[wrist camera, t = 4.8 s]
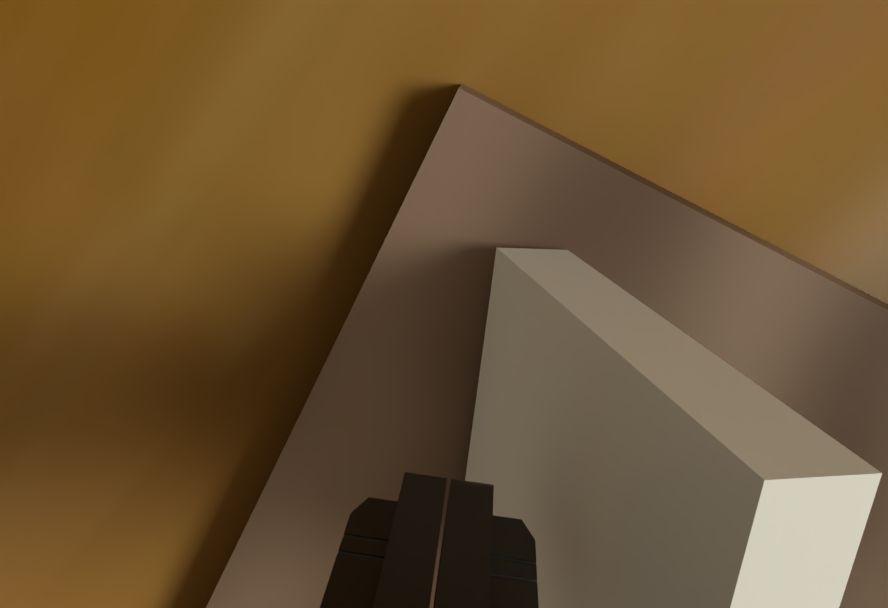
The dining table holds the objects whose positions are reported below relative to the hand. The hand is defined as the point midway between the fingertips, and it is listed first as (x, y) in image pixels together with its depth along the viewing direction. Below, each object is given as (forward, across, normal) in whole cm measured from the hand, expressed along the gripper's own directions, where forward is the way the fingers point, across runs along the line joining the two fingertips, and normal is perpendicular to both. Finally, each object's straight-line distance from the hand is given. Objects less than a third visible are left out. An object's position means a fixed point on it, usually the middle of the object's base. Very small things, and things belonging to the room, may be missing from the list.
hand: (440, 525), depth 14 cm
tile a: (+5, -1, 0) cm, 5 cm away
